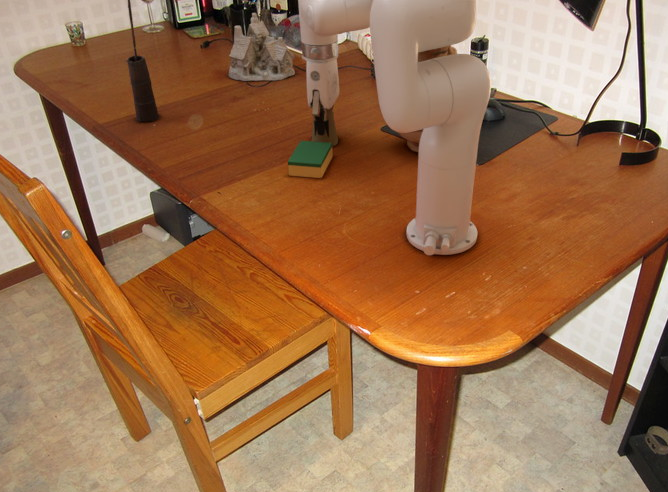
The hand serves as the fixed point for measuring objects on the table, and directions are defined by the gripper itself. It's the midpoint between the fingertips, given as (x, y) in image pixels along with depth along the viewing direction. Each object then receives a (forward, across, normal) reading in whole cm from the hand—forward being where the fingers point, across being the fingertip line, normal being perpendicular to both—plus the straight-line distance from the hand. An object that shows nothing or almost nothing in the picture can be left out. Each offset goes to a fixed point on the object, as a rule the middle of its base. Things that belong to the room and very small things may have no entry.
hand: (324, 131), depth 145 cm
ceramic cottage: (+2, +39, +28) cm, 48 cm away
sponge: (+2, -12, 0) cm, 12 cm away
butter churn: (+2, +4, +46) cm, 46 cm away
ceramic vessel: (+3, +2, -24) cm, 24 cm away
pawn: (+3, 0, 0) cm, 3 cm away
